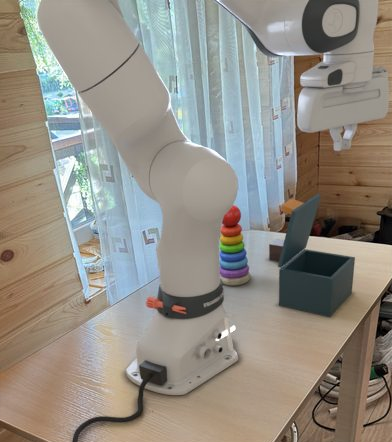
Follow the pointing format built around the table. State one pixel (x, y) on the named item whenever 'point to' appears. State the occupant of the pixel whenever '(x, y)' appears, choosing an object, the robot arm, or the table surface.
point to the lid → (298, 227)
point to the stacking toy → (233, 250)
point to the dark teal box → (316, 282)
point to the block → (275, 249)
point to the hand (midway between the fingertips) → (341, 149)
